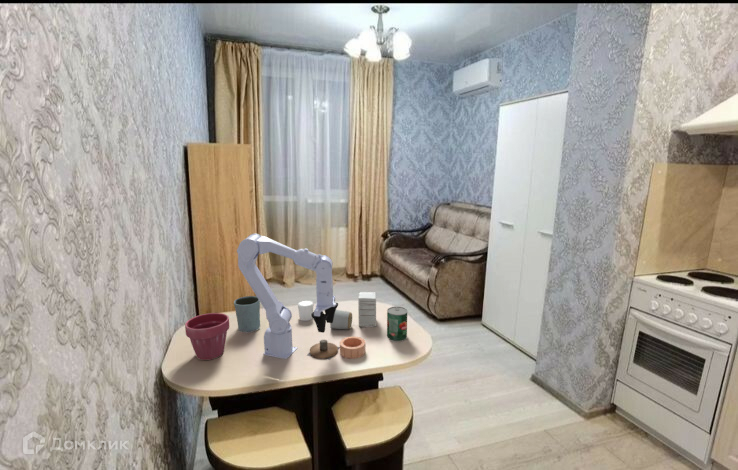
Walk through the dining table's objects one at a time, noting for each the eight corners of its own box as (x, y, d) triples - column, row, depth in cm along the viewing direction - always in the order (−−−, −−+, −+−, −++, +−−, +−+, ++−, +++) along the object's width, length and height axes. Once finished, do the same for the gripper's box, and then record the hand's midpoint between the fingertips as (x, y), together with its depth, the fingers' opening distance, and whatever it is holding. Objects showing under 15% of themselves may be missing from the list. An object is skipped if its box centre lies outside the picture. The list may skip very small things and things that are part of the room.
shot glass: (317, 317, 163) (316, 302, 161) (306, 322, 157) (306, 307, 156) (305, 313, 166) (305, 298, 165) (294, 319, 161) (294, 303, 159)
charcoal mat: (306, 356, 130) (306, 355, 130) (318, 344, 139) (318, 343, 139) (329, 360, 127) (329, 359, 127) (340, 348, 136) (340, 347, 136)
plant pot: (210, 341, 141) (208, 309, 139) (240, 348, 136) (237, 315, 133) (179, 359, 128) (175, 325, 126) (210, 368, 123) (206, 332, 120)
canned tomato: (408, 341, 141) (408, 314, 139) (387, 341, 141) (387, 314, 139) (405, 332, 149) (406, 306, 146) (386, 332, 149) (386, 306, 146)
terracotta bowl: (336, 356, 130) (335, 346, 129) (345, 344, 138) (345, 335, 137) (360, 361, 127) (360, 350, 126) (368, 348, 135) (368, 338, 135)
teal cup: (254, 334, 147) (252, 305, 144) (231, 332, 148) (228, 304, 146) (265, 323, 157) (264, 296, 154) (243, 321, 158) (241, 295, 156)
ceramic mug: (349, 332, 148) (349, 314, 147) (329, 331, 149) (329, 313, 147) (354, 321, 158) (354, 304, 157) (335, 320, 159) (335, 304, 158)
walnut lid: (304, 355, 130) (304, 345, 129) (317, 342, 139) (317, 333, 138) (330, 360, 127) (330, 350, 126) (341, 346, 136) (341, 337, 135)
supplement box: (359, 319, 161) (359, 291, 158) (376, 319, 160) (376, 291, 158) (358, 326, 153) (357, 298, 151) (375, 327, 153) (376, 298, 151)
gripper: (327, 299, 121) (328, 337, 124) (342, 285, 134) (343, 320, 137) (307, 297, 123) (309, 335, 126) (324, 283, 136) (325, 317, 139)
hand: (325, 327), depth 132 cm, fingers open, 7 cm apart
